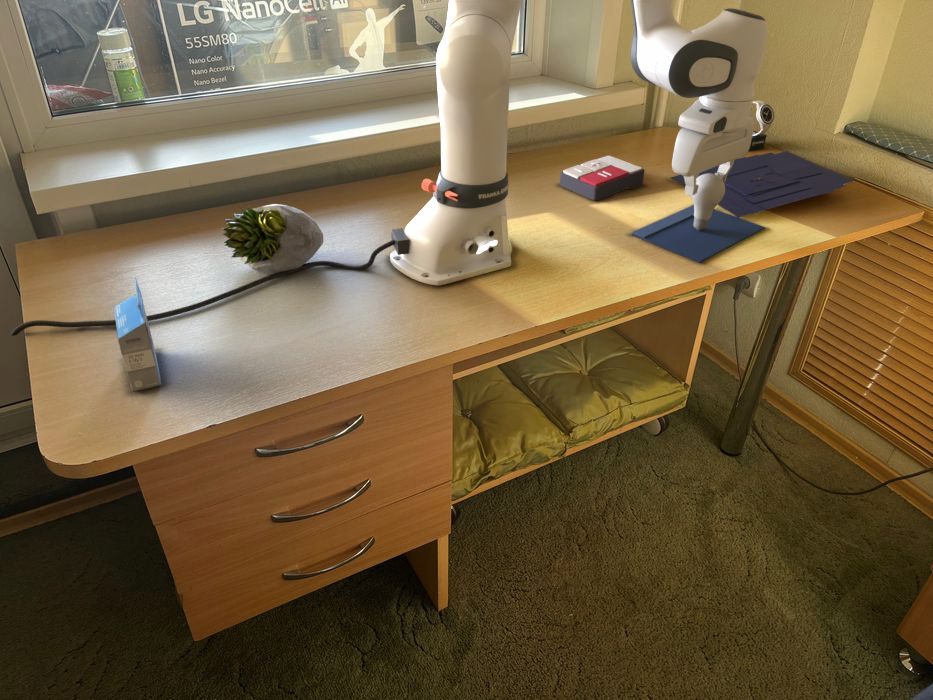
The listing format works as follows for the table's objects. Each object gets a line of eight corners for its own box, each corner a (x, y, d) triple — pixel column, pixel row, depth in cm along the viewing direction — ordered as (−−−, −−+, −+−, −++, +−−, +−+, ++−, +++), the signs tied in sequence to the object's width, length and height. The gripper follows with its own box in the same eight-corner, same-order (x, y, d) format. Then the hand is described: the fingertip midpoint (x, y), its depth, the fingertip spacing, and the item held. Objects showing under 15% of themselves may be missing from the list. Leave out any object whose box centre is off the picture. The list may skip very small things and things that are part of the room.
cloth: (699, 263, 125) (700, 259, 125) (631, 235, 134) (632, 231, 134) (764, 228, 137) (765, 225, 137) (698, 205, 146) (698, 202, 146)
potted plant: (335, 254, 119) (258, 261, 108) (296, 282, 128) (220, 291, 117) (312, 187, 120) (233, 188, 109) (274, 220, 129) (197, 223, 118)
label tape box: (127, 357, 100) (102, 280, 93) (158, 351, 101) (136, 274, 94) (131, 392, 93) (105, 312, 86) (164, 385, 94) (141, 305, 87)
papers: (859, 196, 147) (863, 179, 145) (737, 230, 141) (739, 213, 138) (779, 160, 166) (781, 144, 164) (668, 188, 160) (669, 173, 157)
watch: (754, 153, 173) (765, 107, 167) (729, 144, 179) (739, 99, 173) (770, 149, 176) (781, 104, 169) (744, 140, 181) (754, 96, 175)
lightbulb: (717, 238, 132) (730, 181, 126) (683, 235, 133) (694, 179, 127) (714, 224, 137) (726, 170, 131) (682, 222, 138) (692, 167, 132)
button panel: (559, 169, 152) (608, 152, 160) (558, 188, 155) (607, 170, 162) (596, 184, 145) (646, 166, 152) (594, 204, 148) (643, 185, 155)
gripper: (738, 98, 131) (720, 171, 139) (673, 117, 119) (658, 195, 127) (769, 106, 127) (749, 180, 135) (706, 127, 115) (688, 206, 123)
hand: (704, 188), depth 131 cm, fingers open, 8 cm apart
